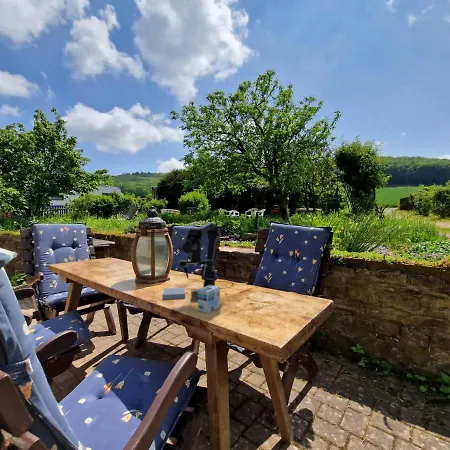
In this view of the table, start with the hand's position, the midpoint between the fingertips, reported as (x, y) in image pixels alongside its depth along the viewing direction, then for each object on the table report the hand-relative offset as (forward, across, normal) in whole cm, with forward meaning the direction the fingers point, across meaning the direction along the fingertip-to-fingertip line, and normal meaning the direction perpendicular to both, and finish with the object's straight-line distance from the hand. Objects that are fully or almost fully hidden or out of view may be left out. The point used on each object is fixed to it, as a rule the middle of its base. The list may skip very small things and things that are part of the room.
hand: (195, 278), depth 147 cm
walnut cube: (+12, 0, 0) cm, 12 cm away
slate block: (+12, +12, -8) cm, 19 cm away
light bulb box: (+12, -5, +17) cm, 21 cm away
